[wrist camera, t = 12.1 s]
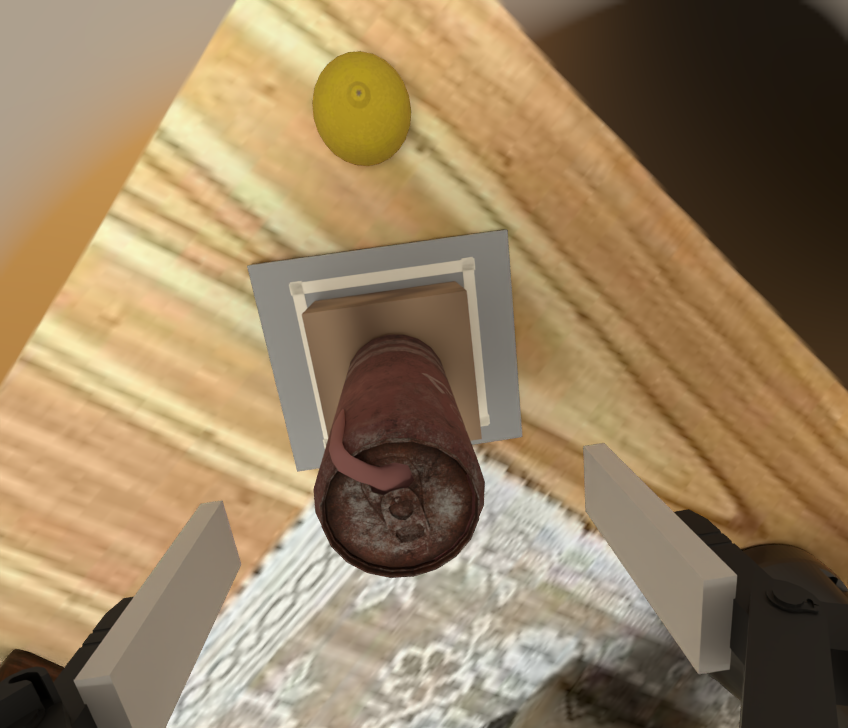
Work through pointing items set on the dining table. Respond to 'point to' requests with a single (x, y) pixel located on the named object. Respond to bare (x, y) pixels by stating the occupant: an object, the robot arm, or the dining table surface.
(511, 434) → the grey base plate
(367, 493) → the can
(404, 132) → the lemon
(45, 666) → the manual coffee grinder
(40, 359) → the dining table surface
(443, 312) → the walnut plinth
